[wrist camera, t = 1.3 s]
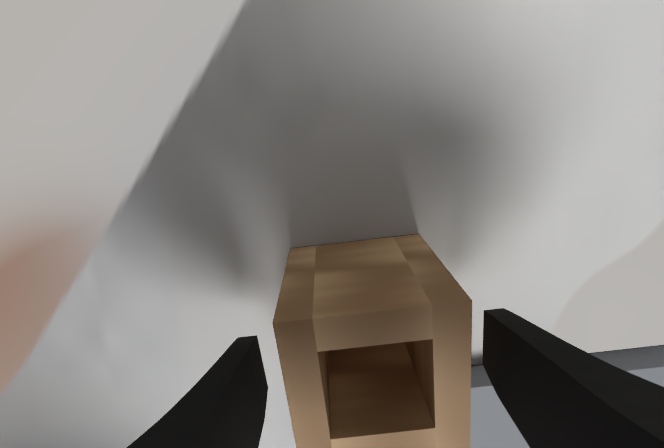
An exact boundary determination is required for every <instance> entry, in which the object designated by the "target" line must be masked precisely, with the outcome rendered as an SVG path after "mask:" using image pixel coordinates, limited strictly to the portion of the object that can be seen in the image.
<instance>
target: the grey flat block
mask: <svg viewBox="0 0 664 448" xmlns="http://www.w3.org/2000/svg"><path fill="white" fill-rule="evenodd" d="M589 354H591V355H593V356H595V357H597V358H599V359H601V360H603V361H605V362H607V363H609V364H611V365H613V366H616V367H618V368H620V369H622V370H624V371H627V372H629V373H631V374H634V375H636V376H638V377H641V378H643V379H646V380H648V381H650V382H653V383H655V384H658V385H660V386H662V387H664V345H659V346H650V347H641V348H632V349H623V350H613V351H604V352H596V353H589ZM470 448H530V447H529V445H528V444H527V442H526V441H525V439H524V438H523V436H522V434H521V433H520V431H519V430H518V428H517V426H516V425H515V423H514V422H513V420H512V419H511V417H510V415H509V414H508V412H507V410H506V409H505V407H504V406H503V404H502V402H501V401H500V399H499V397H498V396H497V394H496V392H495V390H494V388H493V386H492V384H491V382H490V379H489V377H488V375H487V373H486V371H485V368H484V366H483V365H478V366H471V416H470Z"/></svg>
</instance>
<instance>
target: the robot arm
mask: <svg viewBox="0 0 664 448" xmlns="http://www.w3.org/2000/svg"><path fill="white" fill-rule="evenodd" d="M483 366H484V368H485V371H486V373H487V375H488V377H489V379H490V382H491V384H492V386H493V388H494V390H495V392H496V394H497V396H498V397H499V399H500V401H501V402H502V404H503V406H504V407H505V409H506V410H507V412H508V414H509V415H510V417H511V419H512V420H513V422H514V423H515V425H516V426H517V428H518V430H519V431H520V433H521V434H522V436H523V438H524V439H525V441H526V442H527V444H528V445H529V447H530V448H664V387H662V386H660V385H658V384H655V383H653V382H650V381H648V380H646V379H643V378H641V377H638V376H636V375H634V374H631V373H629V372H627V371H624V370H622V369H620V368H618V367H616V366H613V365H611V364H609V363H607V362H605V361H603V360H601V359H599V358H597V357H595V356H593V355H591V354H589V353H587V352H585V351H582V350H580V349H579V348H577V347H575V346H573V345H571V344H569V343H567V342H565V341H563V340H562V339H560V338H558V337H556V336H554V335H552V334H551V333H549V332H547V331H545V330H543V329H541V328H540V327H538V326H536V325H534V324H532V323H531V322H529V321H527V320H525V319H523V318H521V317H520V316H518V315H516V314H514V313H512V312H510V311H508V310H506V309H504V308H502V309H493V310H484V329H483ZM267 391H268V386H267V381H266V376H265V372H264V367H263V362H262V357H261V353H260V348H259V343H258V339H257V336H248V337H239V338H237V339H236V340H235V341H234V342H233V343H232V345H231V346H230V347H229V348H228V349H227V350H226V351H225V353H224V354H223V355H222V356H221V357H220V358H219V359H218V360H217V362H216V363H215V364H214V365H213V366H212V367H211V368H210V369H209V370H208V372H207V373H206V374H205V375H204V376H203V377H202V378H201V379H200V380H199V381H198V382H197V384H196V385H195V386H194V387H193V388H192V389H191V390H190V391H189V392H188V393H187V394H186V395H185V396H184V397H183V398H182V399H181V400H180V401H179V402H178V403H177V404H176V405H175V406H174V407H173V408H172V409H171V410H170V411H168V412H167V413H166V414H165V415H164V416H163V417H162V418H161V419H160V420H159V421H158V422H157V423H155V424H154V425H153V426H152V427H151V428H150V429H148V430H147V431H146V432H145V433H144V434H143V435H141V436H140V437H139V438H138V439H137V440H136V441H134V442H133V443H132V444H131V445H129V446H128V447H127V448H258V446H259V441H260V437H261V433H262V428H263V423H264V418H265V410H266V401H267Z"/></svg>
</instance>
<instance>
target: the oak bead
mask: <svg viewBox="0 0 664 448" xmlns="http://www.w3.org/2000/svg"><path fill="white" fill-rule="evenodd" d="M273 328H274V333H275V338H276V343H277V348H278V354H279V359H280V364H281V369H282V374H283V380H284V385H285V390H286V395H287V401H288V406H289V411H290V416H291V421H292V427H293V432H294V437H295V442H296V448H470V416H471V336H472V300H471V299H470V298H469V296H468V295H467V294H466V292H465V291H464V290H463V289H462V287H461V286H460V285H459V284H458V282H457V281H456V280H455V279H454V277H453V276H452V275H451V274H450V272H449V271H448V270H447V269H446V267H445V266H444V265H443V264H442V262H441V261H440V260H439V258H438V257H437V256H436V255H435V253H434V252H433V251H432V250H431V248H430V247H429V246H428V245H427V243H426V242H425V241H424V240H423V238H422V237H421V236H420V235H419V234H413V235H405V236H396V237H387V238H379V239H370V240H361V241H352V242H344V243H335V244H326V245H318V246H309V247H300V248H291V249H290V252H289V256H288V261H287V265H286V269H285V273H284V277H283V282H282V286H281V290H280V294H279V298H278V303H277V307H276V311H275V315H274V319H273Z"/></svg>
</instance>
